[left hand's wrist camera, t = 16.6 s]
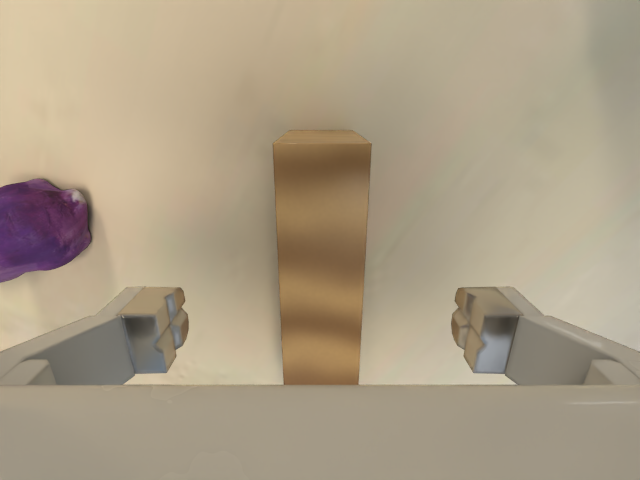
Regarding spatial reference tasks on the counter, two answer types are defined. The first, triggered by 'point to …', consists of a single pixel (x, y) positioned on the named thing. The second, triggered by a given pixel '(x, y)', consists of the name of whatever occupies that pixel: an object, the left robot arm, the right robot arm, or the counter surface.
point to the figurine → (40, 227)
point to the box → (321, 252)
